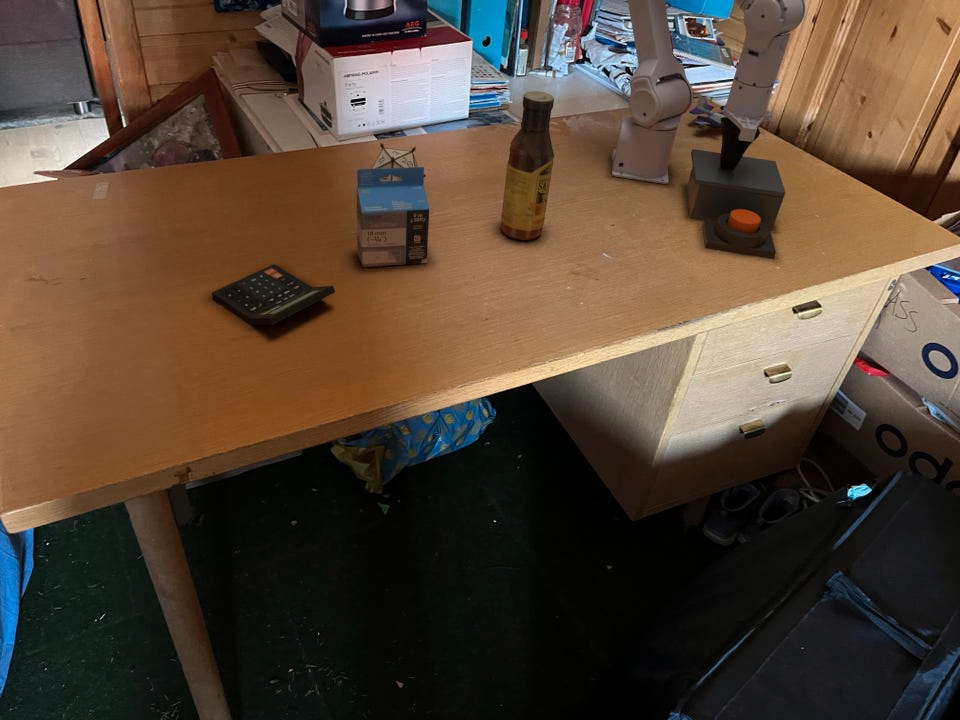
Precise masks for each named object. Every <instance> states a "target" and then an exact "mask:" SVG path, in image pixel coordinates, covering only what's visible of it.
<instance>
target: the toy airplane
mask: <svg viewBox="0 0 960 720" xmlns="http://www.w3.org/2000/svg"><path fill="white" fill-rule="evenodd" d="M724 106H725V105H720V106H719V109H720V110H718V111H712V110H713V109H715V106H713V105H710V104H709V103H708V101H707V98H706V97H705V96H703V95H698V99H697V102H696V106H695V108H692V109H691V110H688V113H689V114H692V115H694V116H696V115H697V116H696V120H694V122H693V124H695V125H698V127H699V128H700V129H703V128H704V127H705V126H706V127H709V128H713V129H717V130H720V129H721V130H722V125H721V120H720V119H721V118H722V117H727V116H726V115H725V114H724V113H723V108H724ZM703 114H705V115H706V116H704V115H703ZM760 135H764V136H766V134H765V133H763V132H760Z"/></svg>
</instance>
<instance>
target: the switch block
mask: <svg viewBox="0 0 960 720" xmlns="http://www.w3.org/2000/svg"><path fill="white" fill-rule="evenodd" d="M729 216H730V213H724V214H722V215H721V216H720V217H718V218H717V221H712V220H706V219H704V221H702V225H701V228H702V235H703V244H704V249H709V250H715V251H721V252H726V253H733V254H740V255H747V256H752V257H758V258H765V259H771V260H774V259H775V257H776V253H777V251H776V246H775V243H774V240H773V239H774V238H773V236H772V231H770V229H768V228H767V225H766V224H764V223H763V222H762V221H760V224H759V227H758V230H757V232H756V233H749V234H748V233H742V232H738V231H736V230H733V229H731V228H730V227H729V226H728V225H727V222H728V219H729Z"/></svg>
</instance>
